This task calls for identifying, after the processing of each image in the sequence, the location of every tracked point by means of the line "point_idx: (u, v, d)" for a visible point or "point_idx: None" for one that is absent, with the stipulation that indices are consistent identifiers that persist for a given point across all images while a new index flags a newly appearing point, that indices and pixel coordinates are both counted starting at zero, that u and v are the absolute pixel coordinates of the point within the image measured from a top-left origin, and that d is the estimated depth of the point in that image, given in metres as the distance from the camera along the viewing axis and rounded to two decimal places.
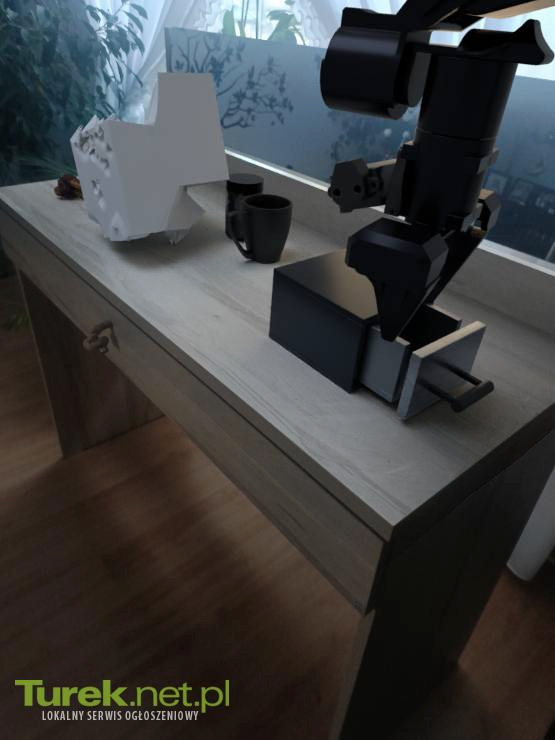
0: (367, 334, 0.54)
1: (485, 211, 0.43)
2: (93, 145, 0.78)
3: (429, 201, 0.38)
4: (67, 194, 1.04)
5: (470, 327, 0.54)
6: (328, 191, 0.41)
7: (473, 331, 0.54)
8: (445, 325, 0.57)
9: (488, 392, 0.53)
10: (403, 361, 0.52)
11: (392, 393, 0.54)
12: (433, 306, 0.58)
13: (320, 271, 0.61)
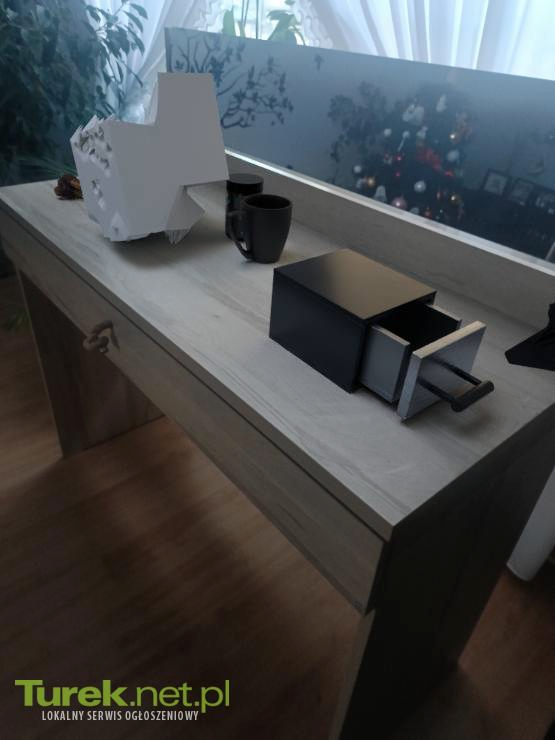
0: (367, 334, 0.54)
1: None
2: (93, 145, 0.78)
3: None
4: (67, 194, 1.04)
5: (470, 327, 0.54)
6: None
7: (473, 331, 0.54)
8: (445, 325, 0.57)
9: (488, 392, 0.53)
10: (403, 361, 0.52)
11: (392, 393, 0.54)
12: (433, 306, 0.58)
13: (320, 271, 0.61)
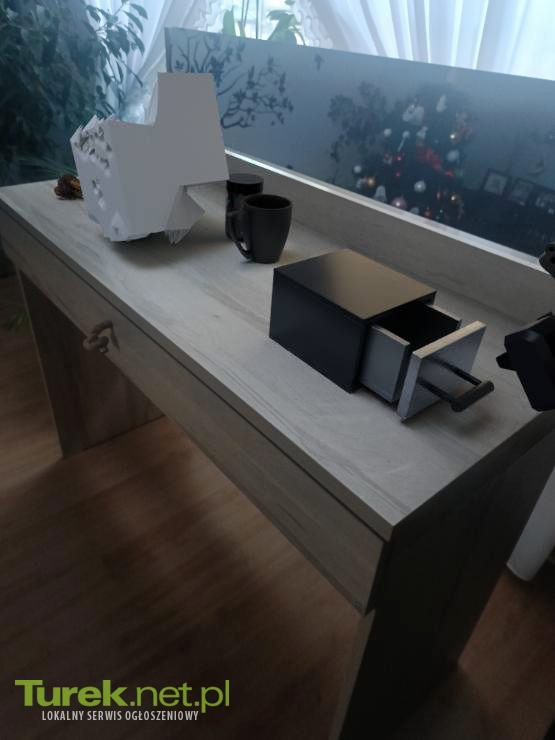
0: (367, 334, 0.54)
1: None
2: (93, 145, 0.78)
3: None
4: (67, 194, 1.04)
5: (470, 327, 0.54)
6: (549, 245, 0.39)
7: (473, 331, 0.54)
8: (445, 325, 0.57)
9: (488, 392, 0.53)
10: (403, 361, 0.52)
11: (392, 393, 0.54)
12: (433, 306, 0.58)
13: (320, 271, 0.61)
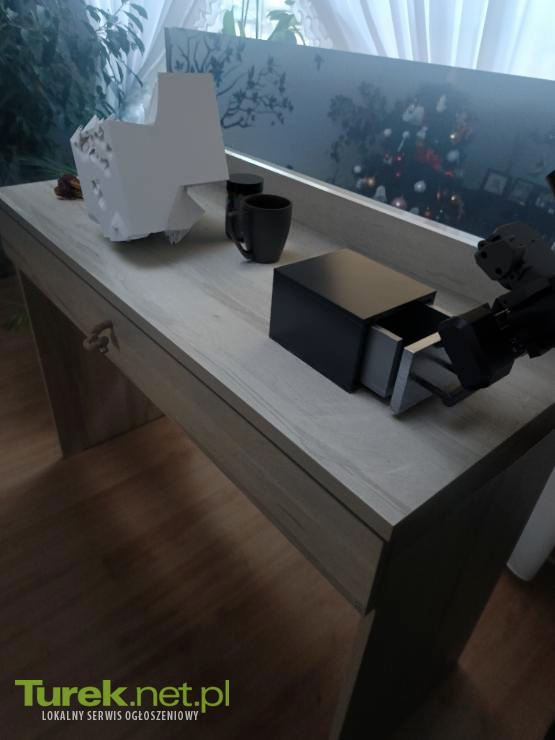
0: None
1: None
2: (93, 145, 0.78)
3: (533, 325, 0.42)
4: (67, 194, 1.04)
5: None
6: (480, 242, 0.43)
7: None
8: (438, 321, 0.58)
9: None
10: (396, 357, 0.53)
11: (385, 388, 0.55)
12: (426, 303, 0.59)
13: (320, 271, 0.61)
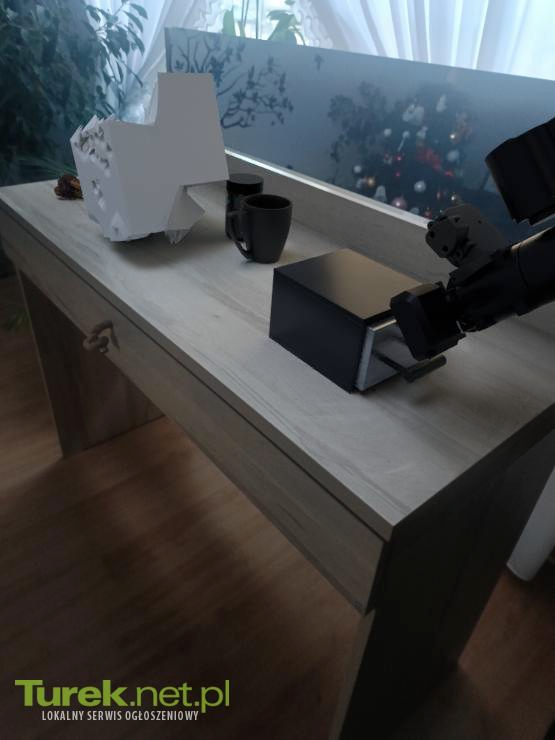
0: None
1: None
2: (93, 145, 0.78)
3: (479, 299, 0.45)
4: (67, 194, 1.04)
5: None
6: (429, 222, 0.46)
7: None
8: None
9: (440, 365, 0.57)
10: None
11: None
12: None
13: (320, 271, 0.61)
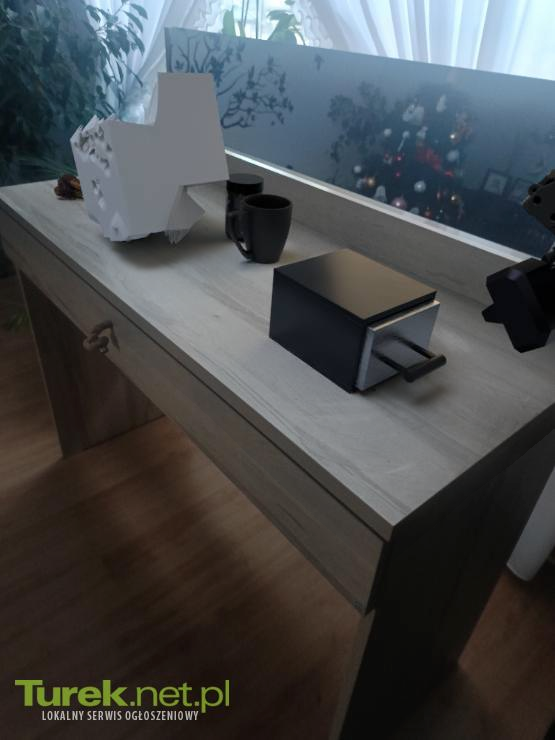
0: None
1: None
2: (93, 145, 0.78)
3: None
4: (67, 194, 1.04)
5: (424, 304, 0.58)
6: (531, 186, 0.38)
7: (427, 308, 0.57)
8: None
9: (440, 365, 0.57)
10: None
11: None
12: None
13: (320, 271, 0.61)
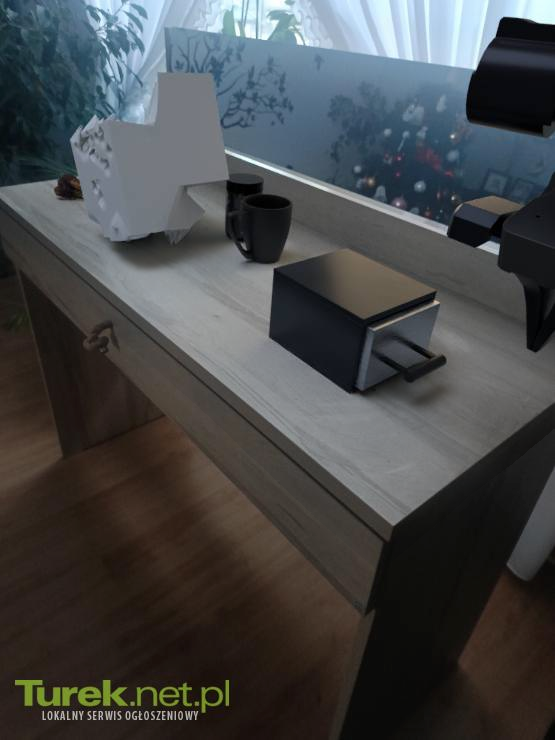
0: None
1: None
2: (93, 145, 0.78)
3: None
4: (67, 194, 1.04)
5: (424, 304, 0.58)
6: None
7: (427, 308, 0.57)
8: None
9: (440, 365, 0.57)
10: None
11: None
12: None
13: (320, 271, 0.61)
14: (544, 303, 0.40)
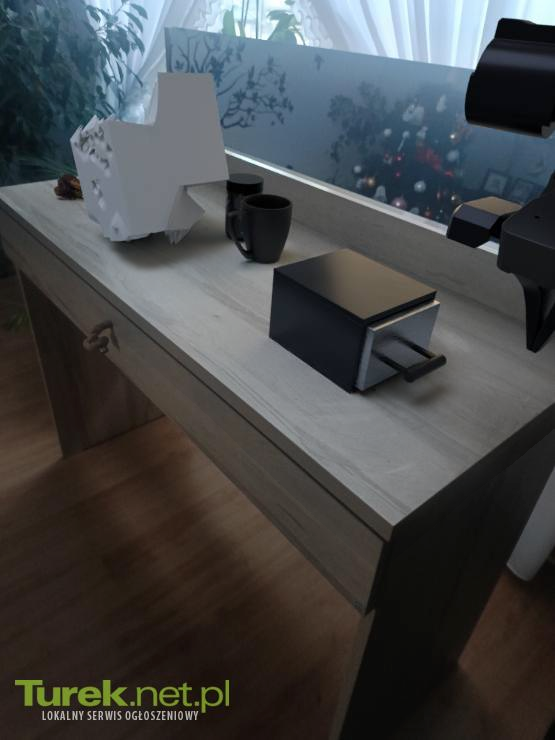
0: None
1: None
2: (93, 145, 0.78)
3: None
4: (67, 194, 1.04)
5: (424, 304, 0.58)
6: None
7: (427, 308, 0.57)
8: None
9: (440, 365, 0.57)
10: None
11: None
12: None
13: (320, 271, 0.61)
14: (544, 303, 0.40)
